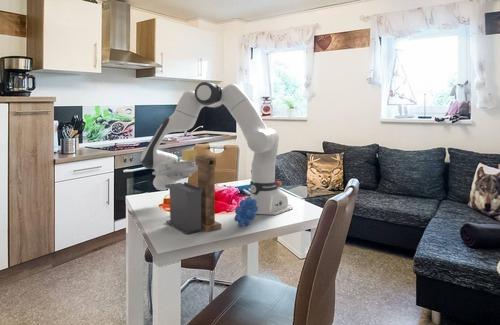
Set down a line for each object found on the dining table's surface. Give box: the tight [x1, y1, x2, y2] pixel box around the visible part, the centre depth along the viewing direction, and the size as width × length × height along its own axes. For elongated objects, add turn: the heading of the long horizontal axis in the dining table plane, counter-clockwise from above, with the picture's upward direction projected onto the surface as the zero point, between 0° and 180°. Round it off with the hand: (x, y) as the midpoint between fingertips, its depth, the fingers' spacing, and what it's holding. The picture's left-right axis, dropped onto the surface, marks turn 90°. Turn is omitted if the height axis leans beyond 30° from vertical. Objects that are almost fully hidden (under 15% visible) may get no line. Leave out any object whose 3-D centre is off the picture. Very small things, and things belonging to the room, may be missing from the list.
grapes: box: [234, 196, 258, 227], centre depth 151 cm, size 12×7×12 cm, turn 128°
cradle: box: [165, 182, 204, 235], centre depth 147 cm, size 7×18×17 cm, turn 39°
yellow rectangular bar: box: [181, 148, 210, 163], centre depth 150 cm, size 4×17×4 cm, turn 39°
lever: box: [234, 183, 251, 194], centre depth 207 cm, size 7×7×18 cm
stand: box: [195, 155, 222, 233], centre depth 147 cm, size 7×12×29 cm, turn 39°
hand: (184, 160), depth 158 cm, fingers open, 8 cm apart
